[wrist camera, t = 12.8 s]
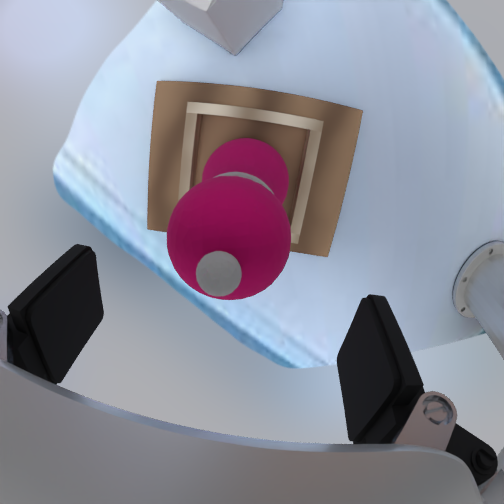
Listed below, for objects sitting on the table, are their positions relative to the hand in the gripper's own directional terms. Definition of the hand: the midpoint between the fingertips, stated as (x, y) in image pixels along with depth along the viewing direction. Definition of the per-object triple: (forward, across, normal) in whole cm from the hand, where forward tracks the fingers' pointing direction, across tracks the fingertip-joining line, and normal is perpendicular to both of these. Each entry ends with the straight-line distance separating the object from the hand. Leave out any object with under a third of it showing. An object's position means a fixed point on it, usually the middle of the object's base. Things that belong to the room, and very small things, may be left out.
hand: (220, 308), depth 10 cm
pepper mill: (+21, +1, 0) cm, 21 cm away
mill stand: (+22, +1, 0) cm, 22 cm away
